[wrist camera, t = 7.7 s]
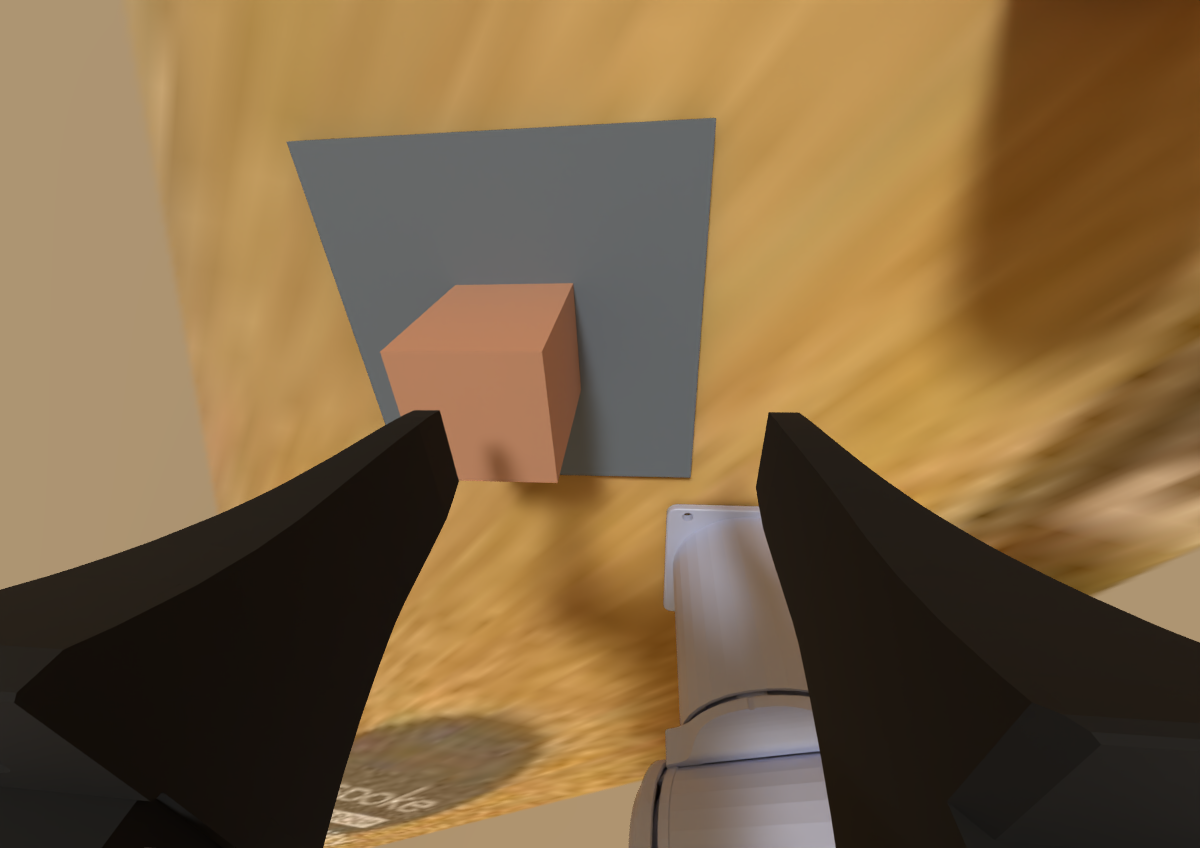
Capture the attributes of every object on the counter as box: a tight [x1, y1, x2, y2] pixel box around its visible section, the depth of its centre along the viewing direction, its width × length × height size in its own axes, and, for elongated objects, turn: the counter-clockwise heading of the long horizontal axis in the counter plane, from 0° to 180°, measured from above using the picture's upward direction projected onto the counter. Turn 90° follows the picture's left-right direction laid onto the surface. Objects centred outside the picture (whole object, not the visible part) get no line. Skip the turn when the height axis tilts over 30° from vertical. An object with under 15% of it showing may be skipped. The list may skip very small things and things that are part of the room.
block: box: [380, 283, 581, 483], centre depth 17 cm, size 4×4×6 cm
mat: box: [287, 118, 716, 478], centre depth 19 cm, size 14×14×1 cm
